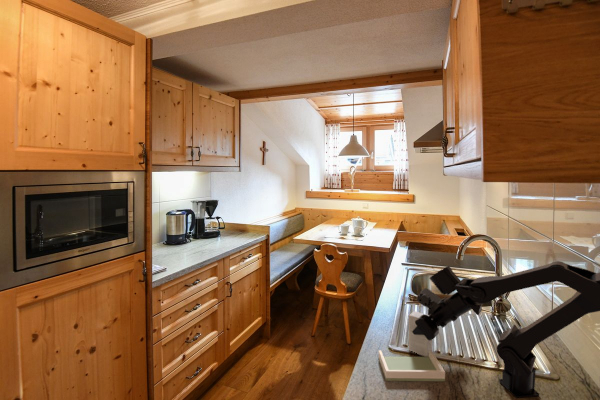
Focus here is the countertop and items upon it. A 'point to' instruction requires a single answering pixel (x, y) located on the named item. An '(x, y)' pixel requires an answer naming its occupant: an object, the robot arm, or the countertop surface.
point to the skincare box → (418, 337)
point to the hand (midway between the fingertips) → (416, 330)
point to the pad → (412, 368)
